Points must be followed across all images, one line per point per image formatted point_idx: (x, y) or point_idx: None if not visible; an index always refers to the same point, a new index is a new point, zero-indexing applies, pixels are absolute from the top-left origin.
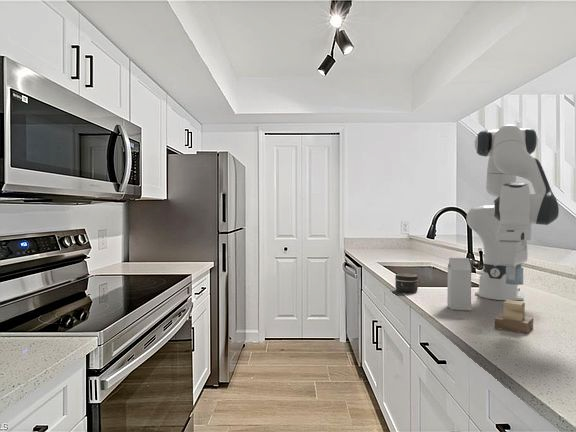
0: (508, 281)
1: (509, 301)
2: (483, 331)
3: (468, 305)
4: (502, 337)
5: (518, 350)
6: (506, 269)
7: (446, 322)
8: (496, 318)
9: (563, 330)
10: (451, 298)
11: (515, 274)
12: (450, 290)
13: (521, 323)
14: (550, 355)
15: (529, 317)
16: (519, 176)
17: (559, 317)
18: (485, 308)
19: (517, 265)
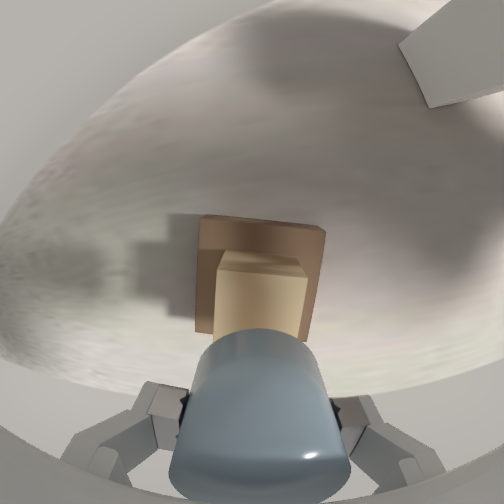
0: (202, 361)
1: (264, 293)
2: (139, 190)
3: (435, 95)
4: (108, 255)
5: (42, 299)
6: (214, 423)
7: (192, 56)
8: (205, 225)
9: None
10: (418, 30)
11: (163, 445)
12: (436, 14)
13: (195, 313)
14: (59, 353)
15: (304, 331)
16: None
17: (450, 357)
18: (481, 157)
19: (382, 486)
